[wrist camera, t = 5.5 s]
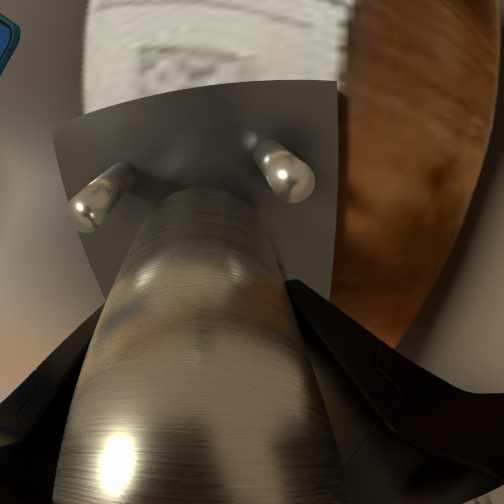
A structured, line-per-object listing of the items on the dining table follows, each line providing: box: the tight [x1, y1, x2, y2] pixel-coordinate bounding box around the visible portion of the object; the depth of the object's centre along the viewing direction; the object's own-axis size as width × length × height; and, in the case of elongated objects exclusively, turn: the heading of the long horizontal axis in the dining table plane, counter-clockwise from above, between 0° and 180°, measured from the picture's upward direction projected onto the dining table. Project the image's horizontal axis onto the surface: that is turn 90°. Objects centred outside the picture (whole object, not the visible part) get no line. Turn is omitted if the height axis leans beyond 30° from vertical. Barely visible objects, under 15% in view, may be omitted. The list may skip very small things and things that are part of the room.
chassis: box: [51, 80, 338, 301], centre depth 11 cm, size 12×12×5 cm
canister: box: [52, 187, 355, 504], centre depth 6 cm, size 5×5×10 cm
